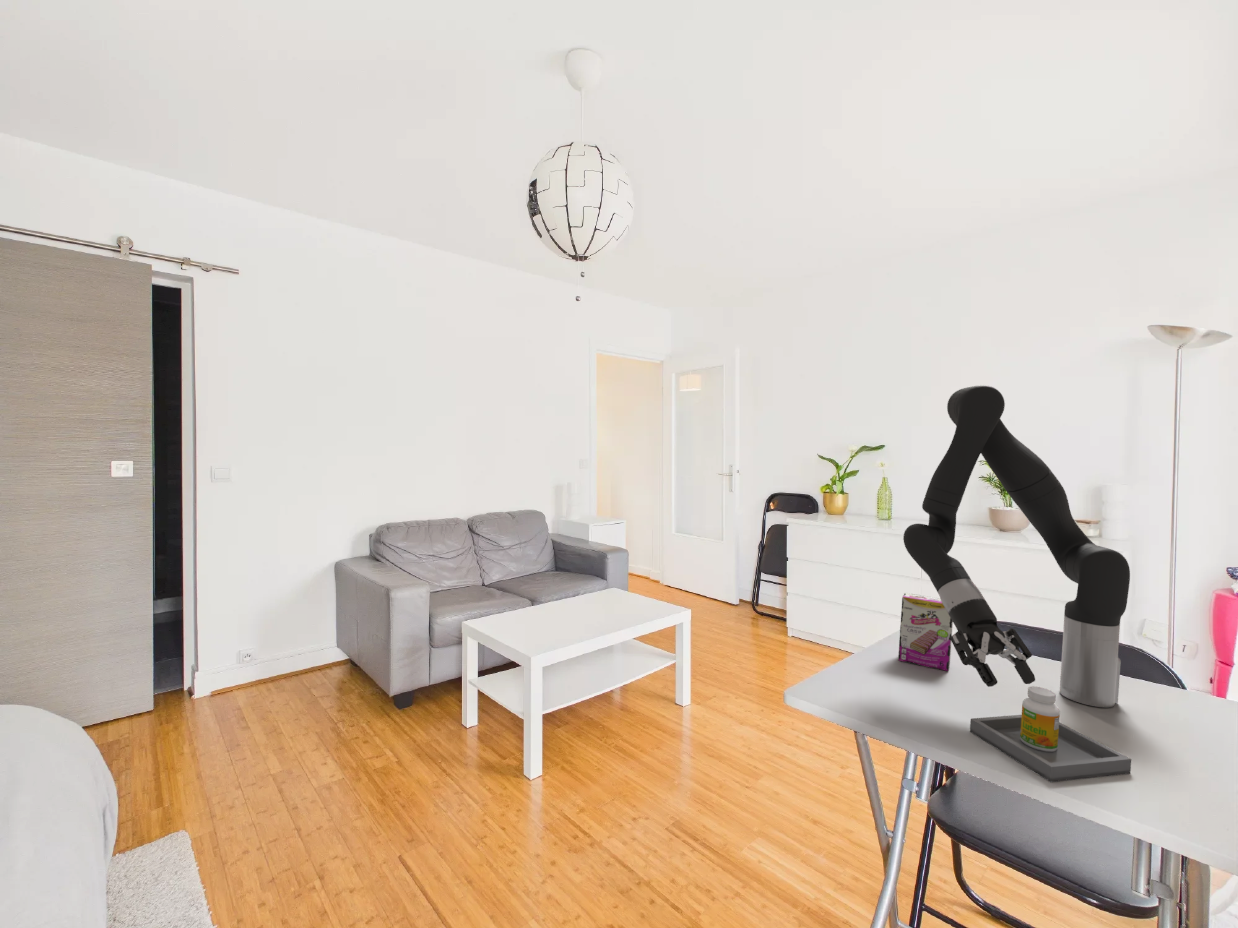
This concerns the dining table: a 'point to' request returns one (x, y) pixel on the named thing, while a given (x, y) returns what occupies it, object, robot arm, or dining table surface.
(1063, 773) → the tray
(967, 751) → the dining table surface
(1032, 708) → the supplement bottle
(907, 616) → the candy bar box
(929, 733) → the dining table surface
